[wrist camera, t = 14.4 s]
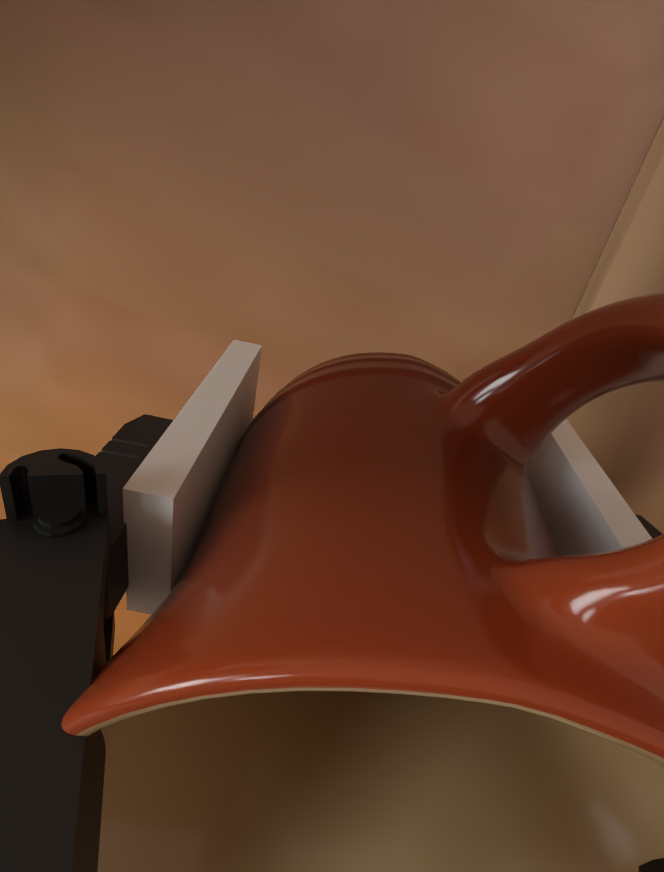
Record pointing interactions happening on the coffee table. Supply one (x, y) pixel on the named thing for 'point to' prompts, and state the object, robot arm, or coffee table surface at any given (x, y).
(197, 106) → the coffee table surface
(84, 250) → the coffee table surface
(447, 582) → the mug
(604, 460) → the board
